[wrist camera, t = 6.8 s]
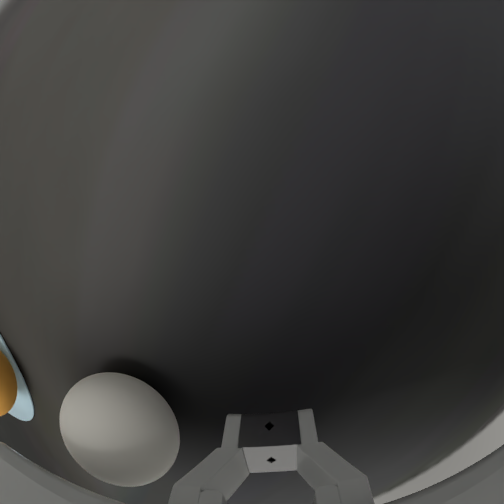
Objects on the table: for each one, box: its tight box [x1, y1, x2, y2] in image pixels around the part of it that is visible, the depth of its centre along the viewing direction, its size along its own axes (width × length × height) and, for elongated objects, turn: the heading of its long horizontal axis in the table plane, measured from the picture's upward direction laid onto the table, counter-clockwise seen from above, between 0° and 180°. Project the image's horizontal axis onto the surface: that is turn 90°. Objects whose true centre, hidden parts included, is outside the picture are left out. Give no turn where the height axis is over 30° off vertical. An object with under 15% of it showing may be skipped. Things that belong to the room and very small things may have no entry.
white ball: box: [60, 372, 180, 487], centre depth 8 cm, size 5×5×5 cm
